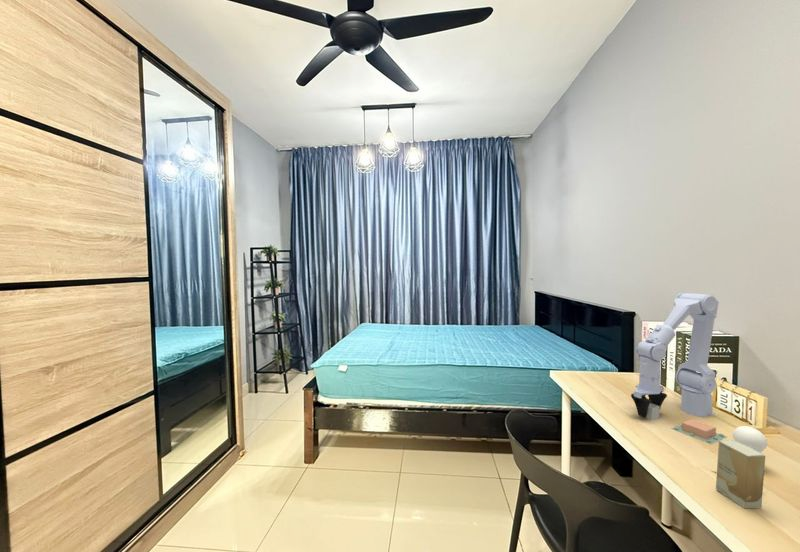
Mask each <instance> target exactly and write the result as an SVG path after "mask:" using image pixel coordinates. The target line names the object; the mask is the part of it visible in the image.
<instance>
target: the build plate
mask: <svg viewBox="0 0 800 552" xmlns="http://www.w3.org/2000/svg"><path fill="white" fill-rule="evenodd" d="M671 430H673V431H676V432H678V433H681V434H683V435H686V436H689V437H691V438H694V439H695V440H699V441H701V442H703V443H704V442H705V443H707V444H710V445H714V444H715V443H719V441H723V440H725V439H727V438H728V436H725V434H723V433H718V432H716V435H715V436H713V437H711V438H708V439H704V438H701V437H698V436H696V435H694V434H693V433H688V432H685V431H683V430H682V424H679V425H677V426H674V427H672V428H671Z"/></svg>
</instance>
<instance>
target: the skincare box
mask: <svg viewBox="0 0 800 552" xmlns="http://www.w3.org/2000/svg"><path fill="white" fill-rule="evenodd" d="M717 451H718V452H717V465H716V466H717V467H716V480H715V481H716V483H715V489H716V491H718V492H720V494H722V495H724V496H725V497H727V498H728V499H730V500H731V501H732V502H734V503H735V504H737V505H738V506H740V507H741V508H743V509H747V510H748V509H761V508H762V503H763V490H764V480H765V479H764V478H765V466H766V465H765V464H766V455H764V453H762V452H761V453H759V452H757V451H755V450H753V449H752V448H750V447H748V446H745V445H743V444H741V443H739V442H737V441H735V440H734V439H732V440H731V439H727V440H725V439H722V440H720V441H718V450H717Z"/></svg>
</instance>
